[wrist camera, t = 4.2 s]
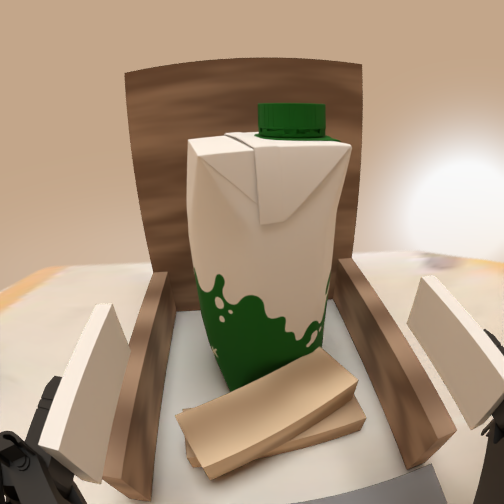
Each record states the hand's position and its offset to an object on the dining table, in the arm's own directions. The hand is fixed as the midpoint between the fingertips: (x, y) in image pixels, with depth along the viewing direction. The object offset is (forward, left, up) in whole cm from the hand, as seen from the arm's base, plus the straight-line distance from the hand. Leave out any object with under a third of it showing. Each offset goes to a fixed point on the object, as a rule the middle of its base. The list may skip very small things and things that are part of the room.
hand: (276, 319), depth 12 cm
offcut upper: (0, -1, -10) cm, 10 cm away
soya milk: (-4, -7, -12) cm, 15 cm away
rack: (-3, -5, -12) cm, 14 cm away
